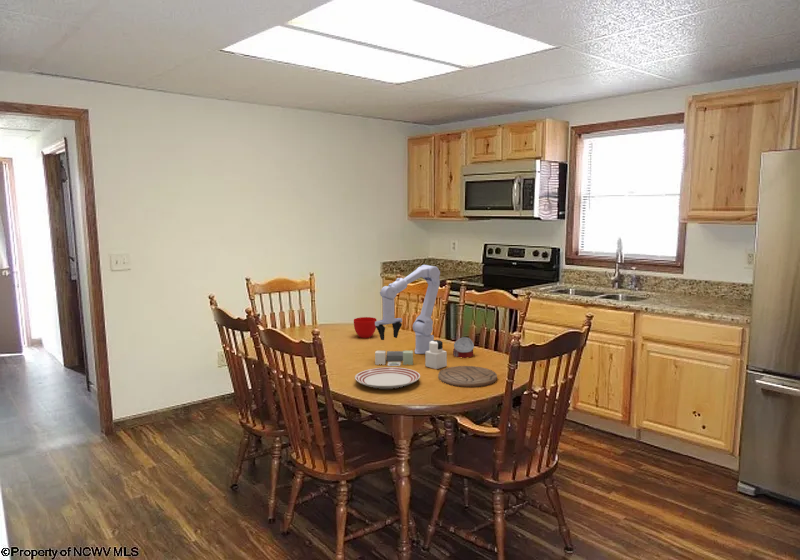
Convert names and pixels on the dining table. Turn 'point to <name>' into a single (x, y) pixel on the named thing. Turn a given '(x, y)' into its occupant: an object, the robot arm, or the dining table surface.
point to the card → (394, 363)
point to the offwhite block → (380, 357)
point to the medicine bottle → (436, 355)
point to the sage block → (408, 357)
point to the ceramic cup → (365, 326)
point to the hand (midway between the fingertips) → (389, 338)
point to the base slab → (394, 356)
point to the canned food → (463, 347)
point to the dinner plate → (387, 377)
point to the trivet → (467, 376)
